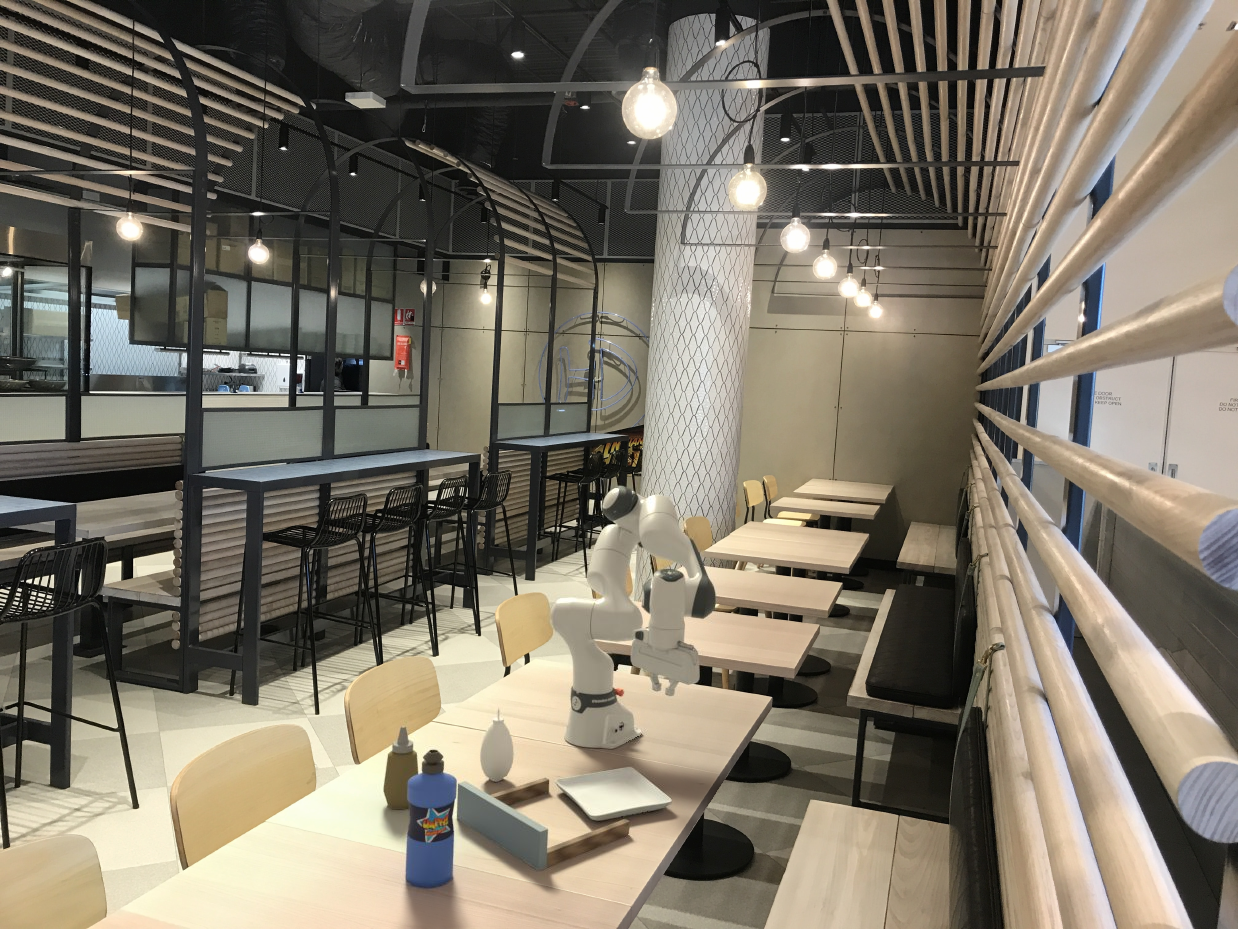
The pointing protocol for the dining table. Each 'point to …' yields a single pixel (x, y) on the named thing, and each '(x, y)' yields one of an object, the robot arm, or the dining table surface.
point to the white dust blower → (497, 750)
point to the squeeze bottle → (400, 771)
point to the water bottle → (430, 824)
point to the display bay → (525, 825)
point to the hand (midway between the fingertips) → (663, 693)
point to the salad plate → (613, 793)
